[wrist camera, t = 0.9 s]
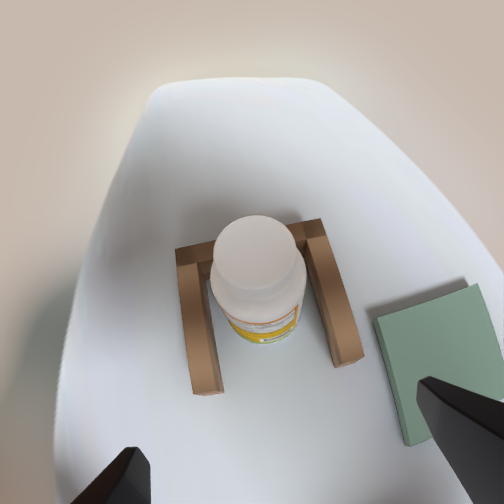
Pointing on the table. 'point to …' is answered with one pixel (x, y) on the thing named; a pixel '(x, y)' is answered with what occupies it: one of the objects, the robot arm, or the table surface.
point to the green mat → (440, 352)
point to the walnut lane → (325, 288)
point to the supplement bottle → (258, 278)
